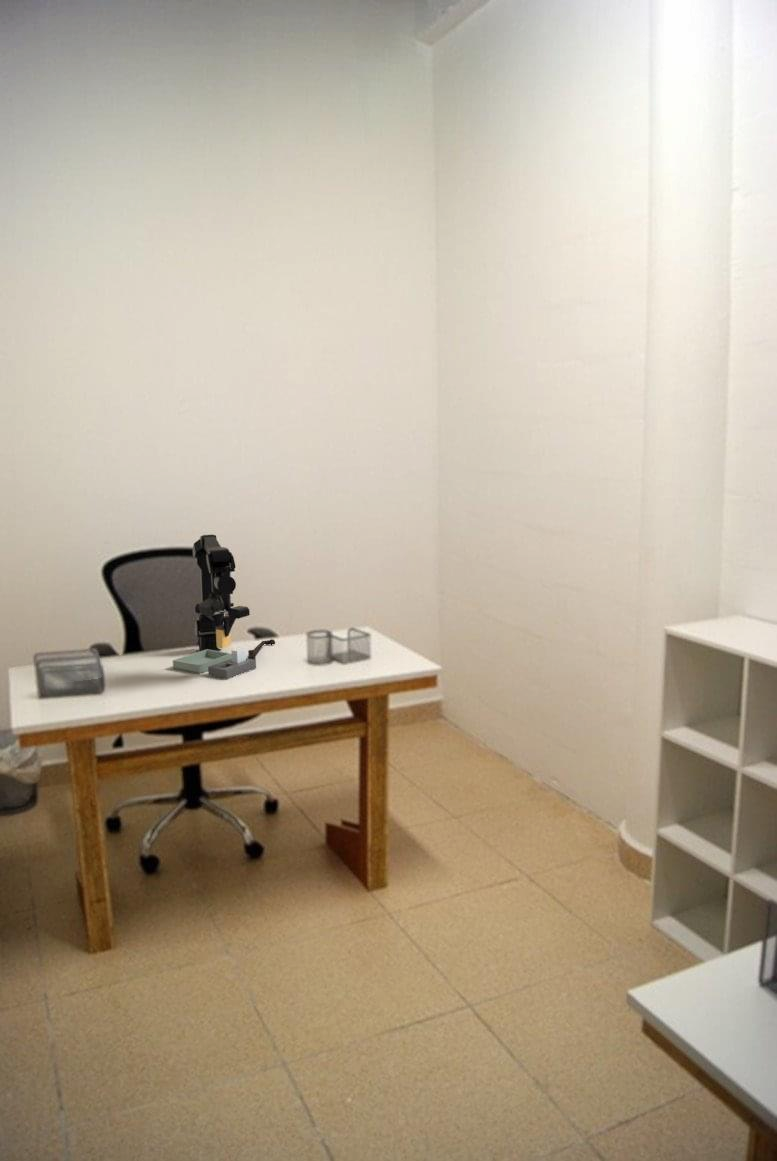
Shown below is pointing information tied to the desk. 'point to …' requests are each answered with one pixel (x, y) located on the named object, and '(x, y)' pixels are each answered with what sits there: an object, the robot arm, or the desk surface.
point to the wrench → (254, 652)
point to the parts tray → (200, 661)
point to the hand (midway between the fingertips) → (223, 635)
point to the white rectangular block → (238, 655)
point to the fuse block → (231, 668)
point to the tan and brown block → (222, 637)
